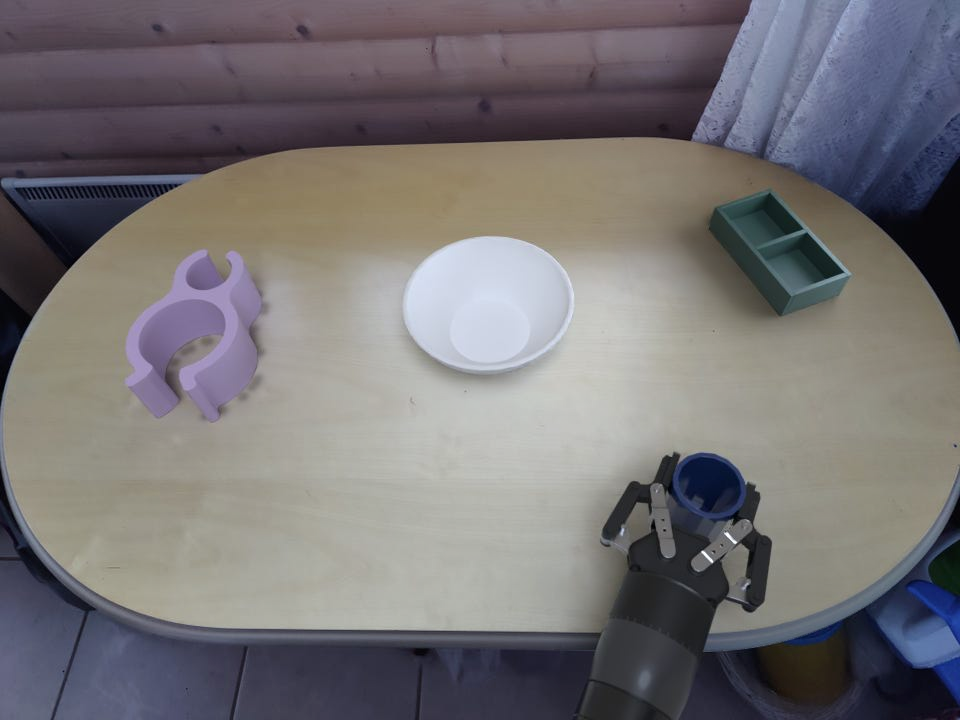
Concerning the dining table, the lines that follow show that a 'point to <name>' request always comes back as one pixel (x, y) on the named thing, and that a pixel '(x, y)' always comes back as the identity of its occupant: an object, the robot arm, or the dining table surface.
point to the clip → (196, 336)
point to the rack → (778, 252)
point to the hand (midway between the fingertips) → (711, 471)
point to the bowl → (488, 304)
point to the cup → (705, 494)
